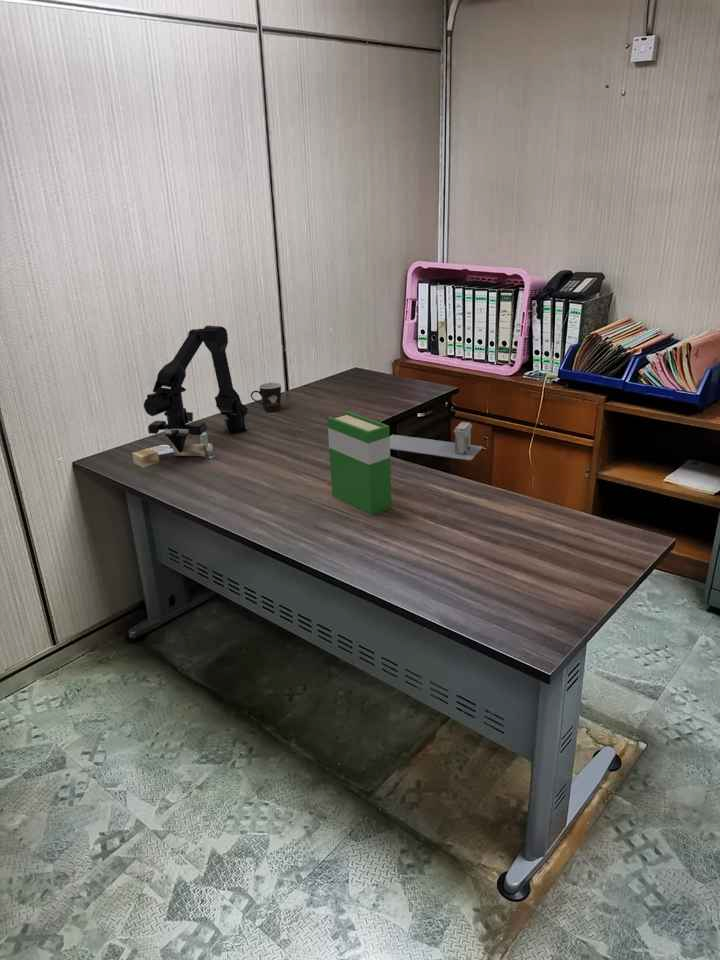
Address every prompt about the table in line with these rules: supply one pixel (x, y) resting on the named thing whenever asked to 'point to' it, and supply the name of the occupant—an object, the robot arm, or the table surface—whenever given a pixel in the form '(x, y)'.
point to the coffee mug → (270, 396)
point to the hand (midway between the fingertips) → (180, 451)
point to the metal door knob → (209, 451)
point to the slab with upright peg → (439, 444)
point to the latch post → (203, 438)
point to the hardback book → (360, 462)
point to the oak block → (145, 457)
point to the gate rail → (191, 450)
